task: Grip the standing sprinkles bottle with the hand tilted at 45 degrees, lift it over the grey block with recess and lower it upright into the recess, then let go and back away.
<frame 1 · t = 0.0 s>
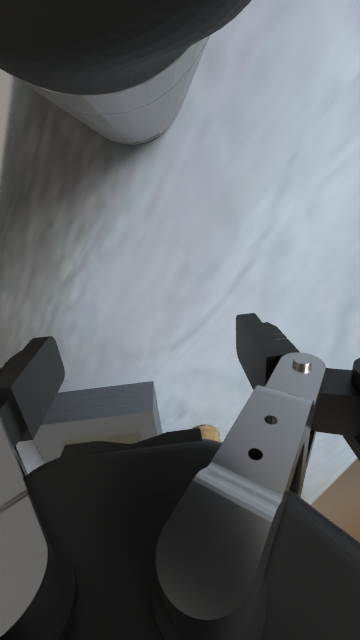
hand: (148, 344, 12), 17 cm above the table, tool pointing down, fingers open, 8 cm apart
grey block with recess: (114, 440, 40), on the table
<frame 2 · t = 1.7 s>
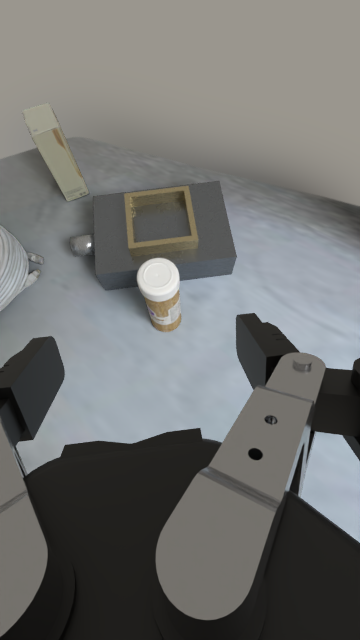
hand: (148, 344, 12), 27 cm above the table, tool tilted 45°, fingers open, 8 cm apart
skincare box: (74, 187, 51), on the table
grey block with recess: (163, 244, 46), on the table
sprinkles bottle: (166, 319, 42), on the table
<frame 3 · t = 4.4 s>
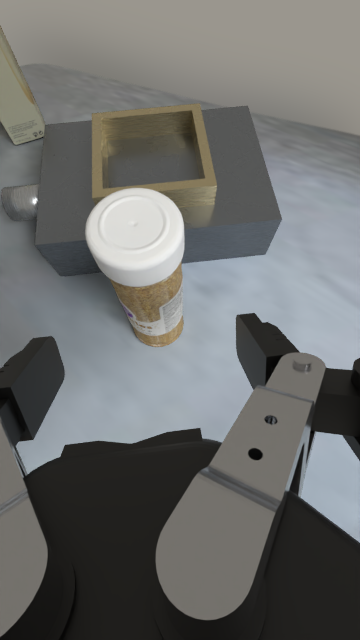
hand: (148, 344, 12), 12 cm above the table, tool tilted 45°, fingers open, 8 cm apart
skincare box: (27, 127, 35), on the table
grey block with recess: (157, 208, 30), on the table
sprinkles bottle: (159, 324, 25), on the table
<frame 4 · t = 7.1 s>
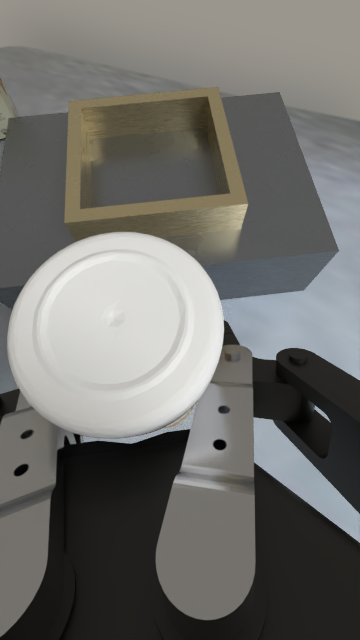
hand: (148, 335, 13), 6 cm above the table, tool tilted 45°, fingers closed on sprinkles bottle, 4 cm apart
grey block with recess: (160, 227, 23), on the table
sprinkles bottle: (162, 391, 18), on the table, touching gripper
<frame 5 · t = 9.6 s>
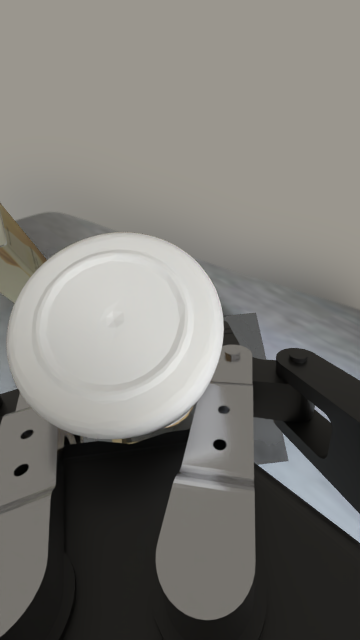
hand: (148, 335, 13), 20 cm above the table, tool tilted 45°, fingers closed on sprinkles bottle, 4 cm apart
skincare box: (43, 290, 36), on the table
grey block with recess: (169, 396, 31), on the table
sprinkles bottle: (163, 391, 18), point 13 cm above the table, touching gripper
when the fingers open (12 cm above the table, at t = 12.4 s): sprinkles bottle stays where it is, resting on grey block with recess.
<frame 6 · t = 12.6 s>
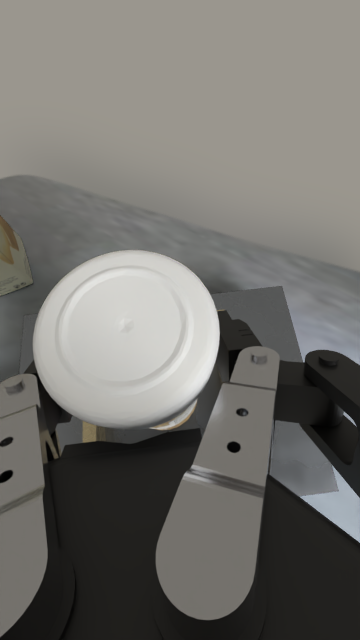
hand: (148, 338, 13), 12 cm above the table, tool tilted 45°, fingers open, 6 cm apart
skincare box: (8, 267, 29), on the table
grey block with recess: (167, 399, 24), on the table
sprinkles bottle: (165, 395, 19), point 5 cm above the table, touching grey block with recess
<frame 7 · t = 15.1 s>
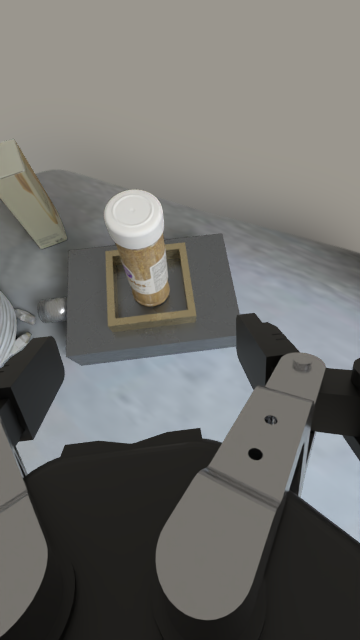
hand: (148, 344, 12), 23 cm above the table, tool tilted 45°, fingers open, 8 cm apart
skincare box: (50, 230, 43), on the table
grey block with recess: (154, 306, 38), on the table
sprinkles bottle: (151, 291, 34), point 5 cm above the table, touching grey block with recess
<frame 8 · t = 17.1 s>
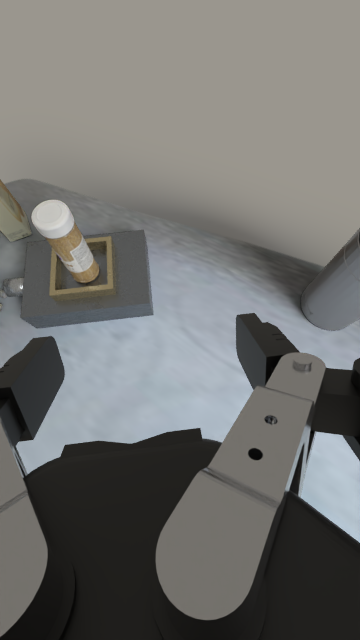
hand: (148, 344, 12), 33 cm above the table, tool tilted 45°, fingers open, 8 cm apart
skincare box: (19, 227, 55), on the table
grey block with recess: (95, 285, 50), on the table
sprinkles bottle: (86, 272, 46), point 5 cm above the table, touching grey block with recess
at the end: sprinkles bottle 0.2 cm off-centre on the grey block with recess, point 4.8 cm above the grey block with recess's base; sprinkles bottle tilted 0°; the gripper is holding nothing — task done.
